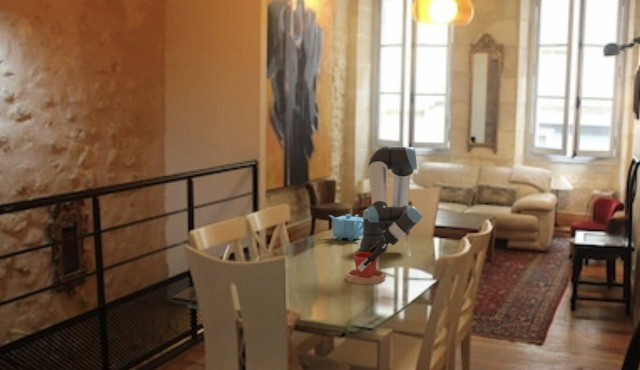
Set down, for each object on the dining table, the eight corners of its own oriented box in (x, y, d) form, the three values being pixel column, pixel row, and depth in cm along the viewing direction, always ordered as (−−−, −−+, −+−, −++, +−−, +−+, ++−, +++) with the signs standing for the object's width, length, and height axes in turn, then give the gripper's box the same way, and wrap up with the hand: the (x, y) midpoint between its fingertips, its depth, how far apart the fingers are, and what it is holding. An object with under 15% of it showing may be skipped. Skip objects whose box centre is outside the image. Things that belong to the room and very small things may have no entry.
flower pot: (376, 278, 310) (376, 257, 309) (352, 277, 312) (352, 256, 311) (378, 272, 320) (379, 252, 319) (355, 271, 322) (355, 251, 321)
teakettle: (367, 241, 399) (368, 216, 397) (337, 242, 394) (337, 217, 392) (357, 235, 417) (357, 211, 415) (328, 236, 412) (328, 212, 410)
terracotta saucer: (372, 272, 328) (372, 266, 328) (392, 281, 312) (392, 275, 312) (339, 276, 321) (339, 270, 320) (357, 286, 304) (358, 280, 304)
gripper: (400, 245, 301) (364, 278, 305) (398, 234, 324) (365, 266, 327) (388, 233, 301) (353, 267, 304) (387, 223, 324) (354, 255, 327)
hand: (359, 266), depth 316 cm, fingers closed on flower pot, 10 cm apart
